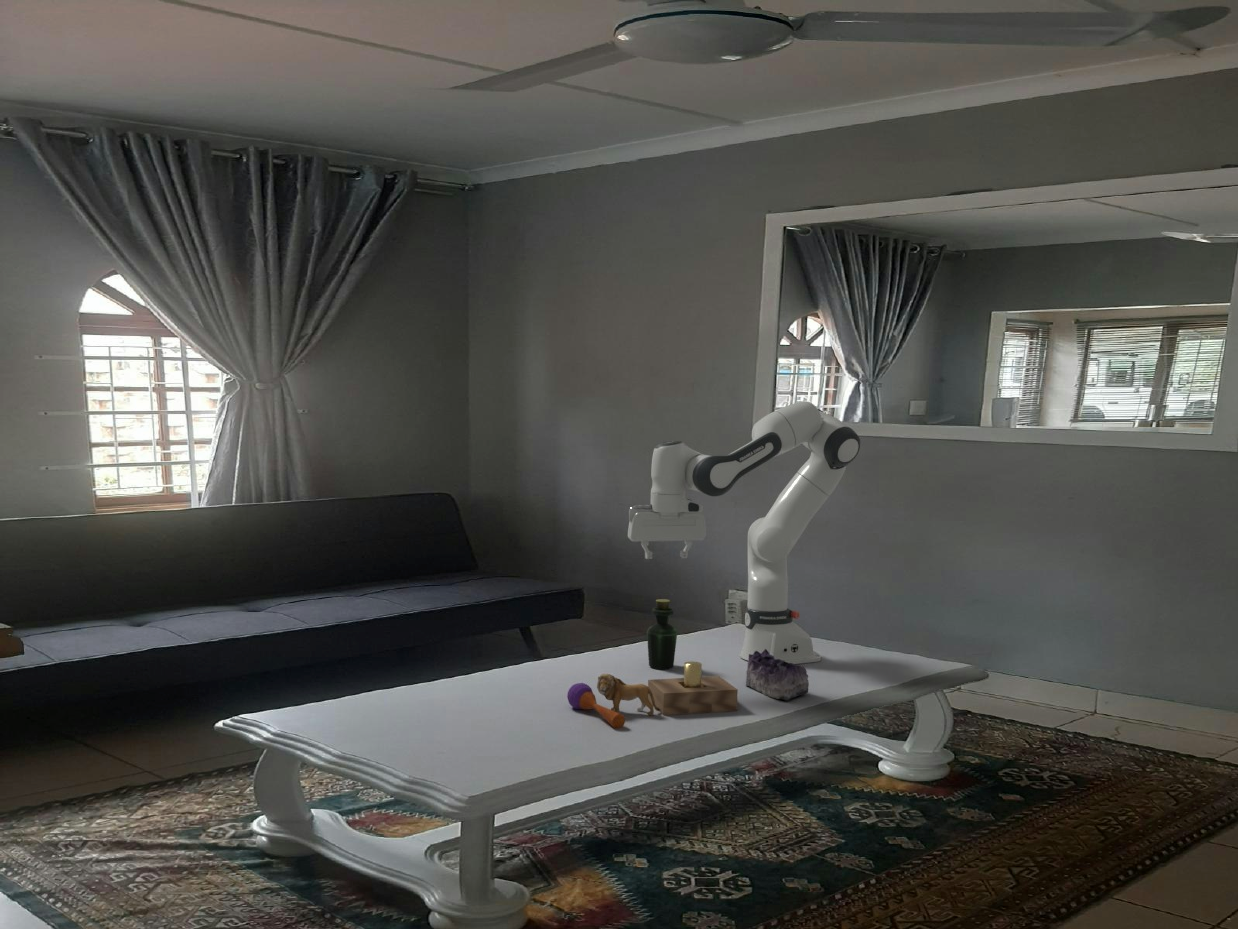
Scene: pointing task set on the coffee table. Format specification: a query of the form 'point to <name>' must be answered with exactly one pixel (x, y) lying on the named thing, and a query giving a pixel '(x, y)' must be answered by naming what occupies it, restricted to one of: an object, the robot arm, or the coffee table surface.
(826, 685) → the coffee table surface
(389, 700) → the coffee table surface
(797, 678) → the geode
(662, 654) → the potion bottle
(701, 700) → the walnut hole block
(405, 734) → the coffee table surface
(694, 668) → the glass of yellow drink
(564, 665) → the coffee table surface
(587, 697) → the purple and orange maraca
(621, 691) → the lion figurine
